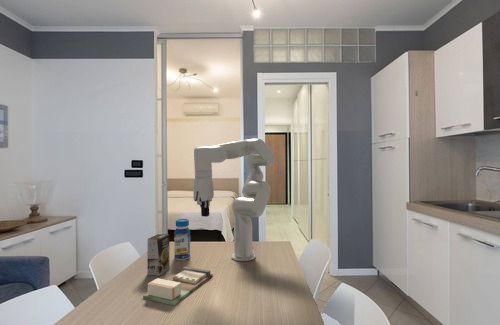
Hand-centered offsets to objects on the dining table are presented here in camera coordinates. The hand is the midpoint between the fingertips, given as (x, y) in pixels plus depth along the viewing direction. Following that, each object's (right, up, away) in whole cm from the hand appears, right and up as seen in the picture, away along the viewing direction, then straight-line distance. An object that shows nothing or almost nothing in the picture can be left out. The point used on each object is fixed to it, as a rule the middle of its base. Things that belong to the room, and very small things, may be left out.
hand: (205, 215), depth 117 cm
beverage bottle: (-16, -27, +22) cm, 38 cm away
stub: (-12, -25, -20) cm, 34 cm away
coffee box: (-22, -27, +4) cm, 35 cm away
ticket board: (-8, -26, -11) cm, 29 cm away
